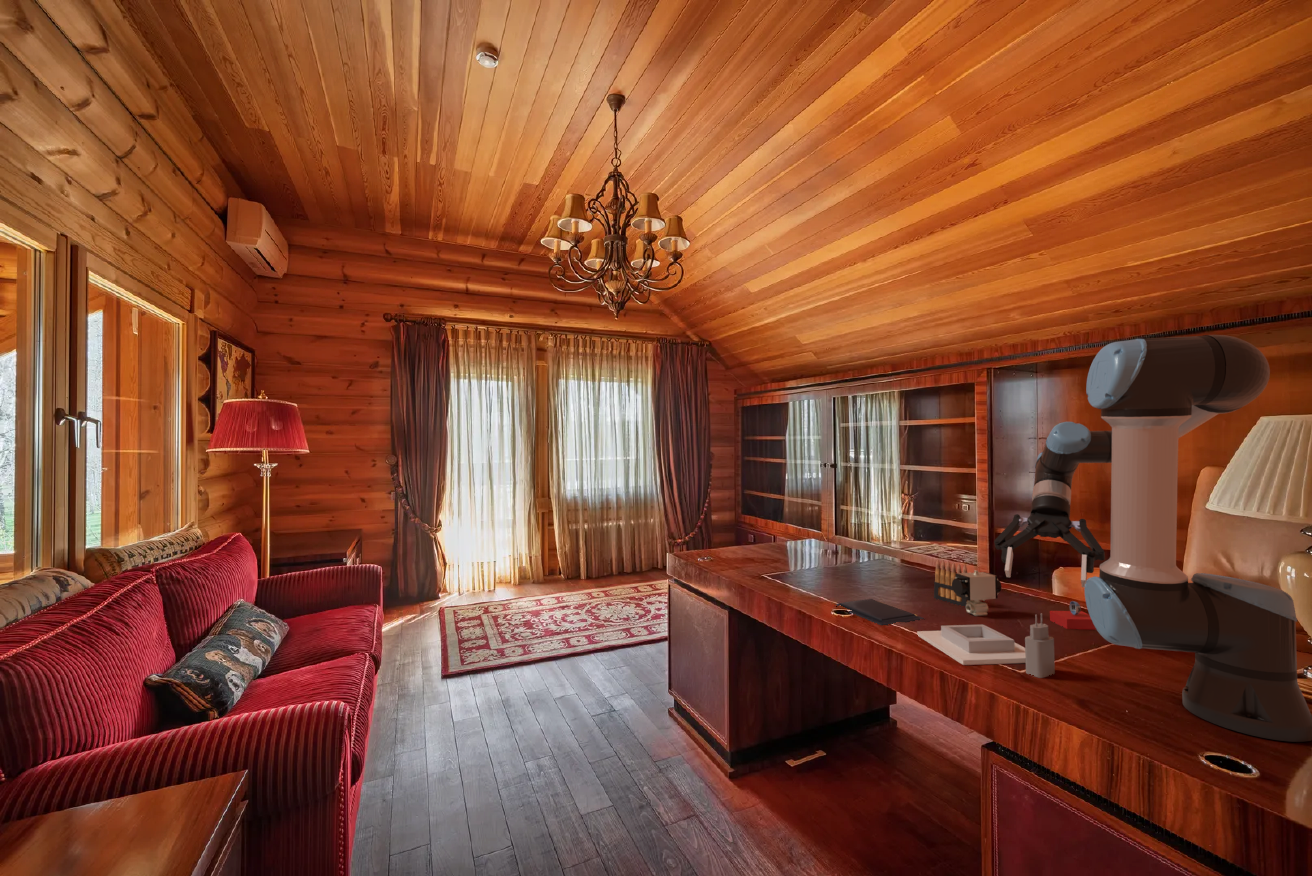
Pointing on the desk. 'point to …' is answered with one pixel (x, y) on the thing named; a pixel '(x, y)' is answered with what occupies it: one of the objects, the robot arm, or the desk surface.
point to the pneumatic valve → (976, 590)
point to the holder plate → (975, 645)
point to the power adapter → (1039, 651)
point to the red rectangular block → (1072, 618)
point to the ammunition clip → (947, 583)
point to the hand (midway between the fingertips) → (1044, 578)
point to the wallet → (879, 612)
